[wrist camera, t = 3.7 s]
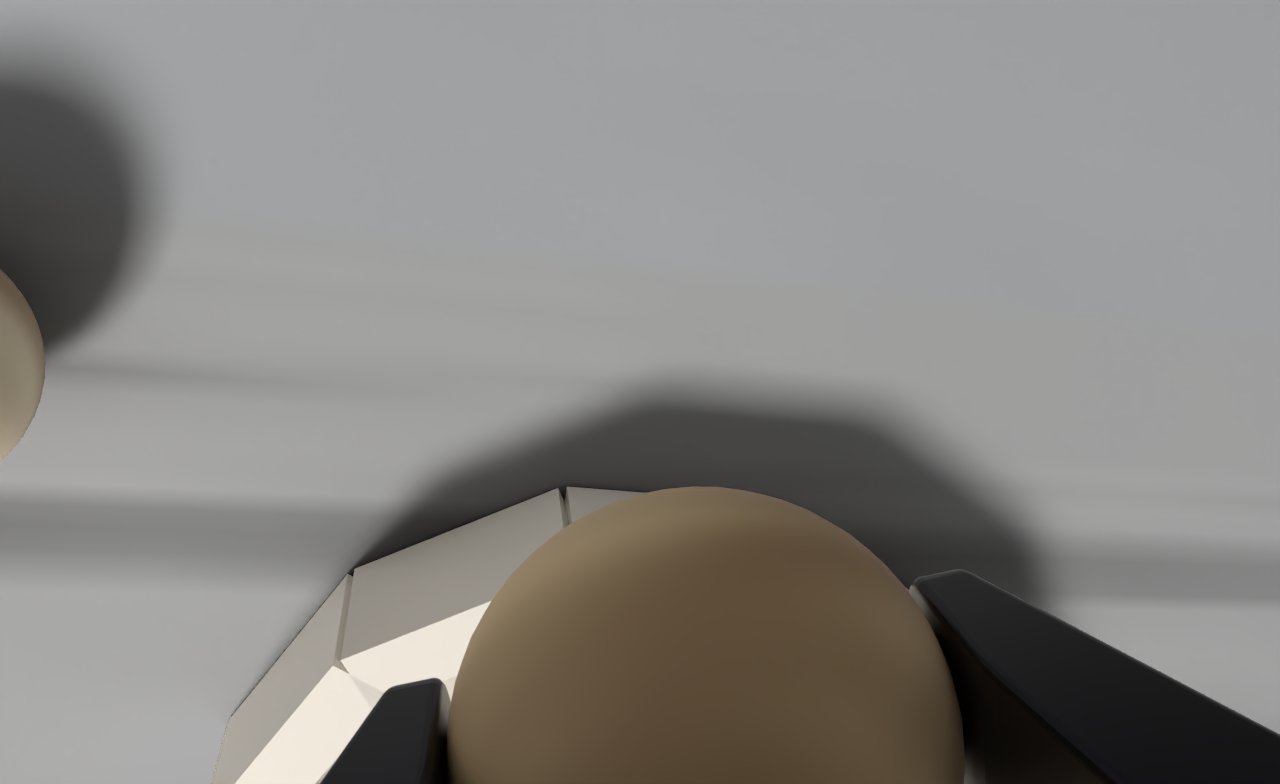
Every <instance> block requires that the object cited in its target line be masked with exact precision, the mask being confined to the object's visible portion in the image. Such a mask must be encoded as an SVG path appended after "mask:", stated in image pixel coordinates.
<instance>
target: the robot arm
mask: <svg viewBox="0 0 1280 784" xmlns="http://www.w3.org/2000/svg"><path fill="white" fill-rule="evenodd" d="M909 593H910V595H911V596H912V597H913V599H914V600H915V602H916V603H917V605H918V606H919V608H920V609H921V611H922V612H923V614H924V616H925V617H926V619H927V620H928V622H929V623H930V625H931V627H932V630H933V632H934V634H935V636H936V638H937V640H938V642H939V645H940V647H941V649H942V652H943V654H944V656H945V659H946V661H947V663H948V666H949V668H950V671H951V675H952V679H953V682H954V686H955V690H956V694H957V699H958V703H959V707H960V711H961V716H962V723H963V739H964V756H965V776H964V784H1280V734H1278V733H1276V732H1274V731H1272V730H1270V729H1268V728H1266V727H1264V726H1262V725H1261V724H1259V723H1257V722H1255V721H1253V720H1251V719H1249V718H1247V717H1245V716H1243V715H1242V714H1240V713H1238V712H1236V711H1234V710H1232V709H1230V708H1228V707H1226V706H1224V705H1222V704H1221V703H1219V702H1217V701H1215V700H1213V699H1211V698H1209V697H1207V696H1205V695H1203V694H1201V693H1200V692H1198V691H1196V690H1194V689H1192V688H1190V687H1188V686H1186V685H1184V684H1182V683H1180V682H1179V681H1177V680H1175V679H1173V678H1171V677H1169V676H1167V675H1165V674H1163V673H1161V672H1160V671H1158V670H1156V669H1154V668H1152V667H1150V666H1148V665H1146V664H1144V663H1142V662H1140V661H1139V660H1137V659H1135V658H1133V657H1131V656H1129V655H1127V654H1125V653H1123V652H1121V651H1119V650H1118V649H1116V648H1114V647H1112V646H1110V645H1108V644H1106V643H1104V642H1102V641H1100V640H1098V639H1097V638H1095V637H1093V636H1091V635H1089V634H1087V633H1085V632H1083V631H1081V630H1079V629H1078V628H1076V627H1074V626H1072V625H1070V624H1068V623H1066V622H1064V621H1062V620H1060V619H1058V618H1057V617H1055V616H1053V615H1051V614H1049V613H1047V612H1045V611H1043V610H1041V609H1039V608H1037V607H1036V606H1034V605H1032V604H1030V603H1028V602H1026V601H1024V600H1022V599H1020V598H1018V597H1017V596H1015V595H1013V594H1011V593H1009V592H1007V591H1005V590H1003V589H1001V588H999V587H997V586H996V585H994V584H992V583H990V582H988V581H986V580H984V579H982V578H980V577H978V576H976V575H975V574H973V573H971V572H968V571H966V570H962V569H955V570H950V571H945V572H941V573H936V574H931V575H926V576H922V577H918V578H916V579H915V580H914V581H913V582H912V584H911V586H910V591H909ZM450 705H451V701H450V697H449V694H448V691H447V688H446V686H445V684H444V683H443V682H442V681H441V680H440V679H438V678H430V679H425V680H420V681H415V682H410V683H405V684H401V685H396V686H393V687H390V688H389V689H388V690H386V691H385V692H384V694H383V695H382V696H381V698H380V699H379V700H378V702H377V703H376V705H375V706H374V707H373V709H372V710H371V712H370V713H369V714H368V716H367V717H366V719H365V720H364V722H363V723H362V724H361V726H360V727H359V729H358V730H357V731H356V733H355V734H354V736H353V737H352V738H351V740H350V741H349V743H348V744H347V746H346V747H345V748H344V750H343V751H342V753H341V754H340V755H339V757H338V758H337V760H336V761H335V762H334V764H333V765H332V767H331V768H330V769H329V771H328V772H327V774H326V775H325V777H324V778H323V779H322V781H321V782H320V784H448V775H447V757H446V748H447V728H448V719H449V710H450Z"/></svg>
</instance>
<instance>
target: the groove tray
mask: <svg viewBox="0 0 1280 784" xmlns="http://www.w3.org/2000/svg"><path fill="white" fill-rule="evenodd" d="M639 494H643V493H642V492H629V491H617V490H604V489H591V488H578V487H567V489H566V495H565V499H563V497H562V495H561V493H560V491H559V489H558V488H557V489H554V490H552V491H549V492H547V493H544V494H542V495H539V496H536V497H534V498H531V499H529V500H526V501H524V502H521V503H519V504H516V505H514V506H511V507H509V508H506V509H504V510H501V511H499V512H496V513H494V514H491V515H489V516H486V517H484V518H481V519H479V520H476V521H474V522H471V523H469V524H466V525H463V526H461V527H458V528H456V529H453V530H451V531H448V532H446V533H443V534H441V535H438V536H436V537H433V538H431V539H428V540H426V541H423V542H421V543H418V544H416V545H413V546H411V547H408V548H406V549H403V550H401V551H398V552H396V553H393V554H391V555H388V556H385V557H383V558H380V559H378V560H375V561H373V562H370V563H368V564H365V565H363V566H360V567H358V568H355V569H354V575H353V576H351V575H349V574H347V575H346V576H345V578H344V579H343V580H342V581H341V583H340V584H339V585H338V586H337V587H336V589H335V590H334V591H333V592H332V594H331V595H330V596H329V597H328V598H327V600H326V601H325V602H324V603H323V605H322V606H321V607H320V608H319V610H318V611H317V612H316V613H315V614H314V616H313V617H312V618H311V619H310V621H309V622H308V623H307V624H306V626H305V627H304V628H303V629H302V630H301V632H300V633H299V634H298V635H297V637H296V638H295V639H294V640H293V642H292V643H291V644H290V645H289V646H288V648H287V649H286V650H285V651H284V653H283V654H282V655H281V656H280V658H279V659H278V660H277V661H276V662H275V664H274V665H273V666H272V667H271V669H270V670H269V671H268V672H267V674H266V675H265V676H264V677H263V678H262V680H261V681H260V682H259V683H258V685H257V686H256V687H255V688H254V689H253V691H252V692H251V693H250V694H249V696H248V697H247V698H246V699H245V701H244V702H243V703H242V704H241V705H240V707H239V708H238V709H237V710H236V712H235V713H234V714H233V715H232V717H231V718H230V719H229V721H228V725H227V726H226V730H225V733H224V737H223V741H222V745H221V748H220V752H219V756H218V760H217V763H216V767H215V771H214V774H213V778H212V782H211V784H320V782H321V781H322V779H323V778H324V777H325V775H326V774H327V772H328V771H329V769H330V768H331V767H332V765H333V764H334V762H335V761H336V760H337V758H338V757H339V755H340V754H341V753H342V751H343V750H344V748H345V747H346V746H347V744H348V743H349V741H350V740H351V738H352V737H353V736H354V734H355V733H356V731H357V730H358V729H359V727H360V726H361V724H362V723H363V722H364V720H365V719H366V717H367V716H368V714H369V713H370V712H371V710H372V709H373V707H374V706H375V705H376V703H377V702H378V700H379V699H380V698H381V696H382V695H383V694H384V692H385V691H386V690H388V689H389V688H390V687H393V686H396V685H401V684H405V683H410V682H415V681H420V680H425V679H430V678H438V679H440V680H441V681H442V682H443V683H444V684H445V686H446V688H447V691H448V694H449V697H450V701H451V700H452V695H453V690H454V685H455V681H456V678H457V675H458V672H459V669H460V666H461V663H462V660H463V657H464V655H465V652H466V649H467V647H468V644H469V641H470V639H471V636H472V634H473V633H474V631H475V629H476V627H477V625H478V623H479V622H480V620H481V618H482V616H483V614H484V613H485V611H486V609H487V608H488V606H489V604H490V603H491V601H492V600H493V598H494V596H495V595H496V594H497V592H498V591H499V590H500V589H501V587H502V586H503V585H504V583H505V582H506V581H507V579H508V578H509V577H510V575H511V574H512V573H513V572H514V571H515V570H516V569H517V568H518V567H519V566H520V565H521V564H522V563H523V562H524V561H525V560H526V559H527V558H528V557H529V556H530V555H531V554H532V553H533V552H534V551H535V550H537V549H538V548H539V547H540V546H541V545H543V544H544V543H545V542H546V541H548V540H549V539H550V538H551V537H553V536H554V535H555V534H556V533H558V532H559V531H560V530H562V529H563V528H565V527H567V526H568V525H570V524H572V523H573V522H575V521H576V520H578V519H580V518H581V517H583V516H585V515H587V514H589V513H591V512H593V511H595V510H598V509H600V508H602V507H604V506H606V505H608V504H611V503H614V502H617V501H620V500H623V499H626V498H629V497H632V496H635V495H639ZM905 588H906V587H905ZM906 589H907V588H906ZM907 591H908V592H909V591H910V590H909V589H907Z"/></svg>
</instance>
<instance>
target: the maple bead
mask: <svg viewBox="0 0 1280 784" xmlns="http://www.w3.org/2000/svg"><path fill="white" fill-rule="evenodd" d="M44 379H45V356H44V348H43V340H42V337H41V333H40V329H39V326H38V323H37V321H36V319H35V316H34V314H33V312H32V310H31V308H30V306H29V305H28V303H27V301H26V299H25V298H24V296H23V295H22V293H21V292H20V291H19V289H18V288H17V287H16V285H15V284H14V283H13V282H12V281H11V279H10V278H9V277H8V276H7V275H6V274H5V273H4V272H3V271H2V270H1V269H0V461H1V460H2V459H3V458H5V457H6V456H7V455H8V453H9V452H10V451H11V450H12V449H13V448H14V447H15V445H16V444H17V443H18V442H19V441H20V439H21V438H22V437H23V435H24V433H25V432H26V430H27V428H28V426H29V425H30V423H31V421H32V419H33V417H34V416H35V413H36V410H37V408H38V405H39V402H40V399H41V394H42V389H43V384H44Z"/></svg>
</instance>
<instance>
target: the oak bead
mask: <svg viewBox="0 0 1280 784" xmlns="http://www.w3.org/2000/svg"><path fill="white" fill-rule="evenodd" d="M446 757H447V775H448V784H964V776H965V756H964V739H963V723H962V716H961V711H960V707H959V703H958V699H957V694H956V690H955V686H954V682H953V679H952V675H951V671H950V668H949V666H948V663H947V661H946V659H945V656H944V654H943V652H942V649H941V647H940V645H939V642H938V640H937V638H936V636H935V634H934V632H933V630H932V627H931V625H930V623H929V622H928V620H927V619H926V617H925V616H924V614H923V612H922V611H921V609H920V608H919V606H918V605H917V603H916V602H915V600H914V599H913V597H912V596H911V595H910V593H909V592H908V591H907V589H906V588H905V586H904V585H903V584H902V583H901V581H900V580H899V579H898V578H897V577H896V576H895V575H894V574H893V573H892V572H891V570H890V569H889V568H888V567H887V566H886V565H885V564H884V563H883V562H882V561H881V560H880V559H879V558H878V557H877V556H875V555H874V554H873V553H872V552H871V551H870V550H869V549H868V548H866V547H865V546H864V545H863V544H861V543H860V542H859V541H858V540H856V539H855V538H854V537H853V536H851V535H850V534H849V533H848V532H846V531H844V530H842V529H841V528H839V527H837V526H836V525H834V524H832V523H831V522H829V521H827V520H825V519H824V518H822V517H820V516H818V515H816V514H815V513H813V512H811V511H809V510H807V509H804V508H802V507H799V506H797V505H795V504H792V503H790V502H787V501H785V500H782V499H778V498H774V497H770V496H767V495H763V494H759V493H755V492H750V491H745V490H738V489H730V488H723V487H695V486H691V487H681V488H670V489H662V490H657V491H653V492H648V493H643V494H639V495H635V496H632V497H629V498H626V499H623V500H620V501H617V502H614V503H611V504H608V505H606V506H604V507H602V508H600V509H598V510H595V511H593V512H591V513H589V514H587V515H585V516H583V517H581V518H580V519H578V520H576V521H575V522H573V523H572V524H570V525H568V526H567V527H565V528H563V529H562V530H560V531H559V532H558V533H556V534H555V535H554V536H553V537H551V538H550V539H549V540H548V541H546V542H545V543H544V544H543V545H541V546H540V547H539V548H538V549H537V550H535V551H534V552H533V553H532V554H531V555H530V556H529V557H528V558H527V559H526V560H525V561H524V562H523V563H522V564H521V565H520V566H519V567H518V568H517V569H516V570H515V571H514V572H513V573H512V574H511V575H510V577H509V578H508V579H507V581H506V582H505V583H504V585H503V586H502V587H501V589H500V590H499V591H498V592H497V594H496V595H495V596H494V598H493V600H492V601H491V603H490V604H489V606H488V608H487V609H486V611H485V613H484V614H483V616H482V618H481V620H480V622H479V623H478V625H477V627H476V629H475V631H474V633H473V634H472V636H471V639H470V641H469V644H468V647H467V649H466V652H465V655H464V657H463V660H462V663H461V666H460V669H459V672H458V675H457V678H456V681H455V685H454V690H453V695H452V700H451V705H450V710H449V719H448V728H447V748H446Z"/></svg>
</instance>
